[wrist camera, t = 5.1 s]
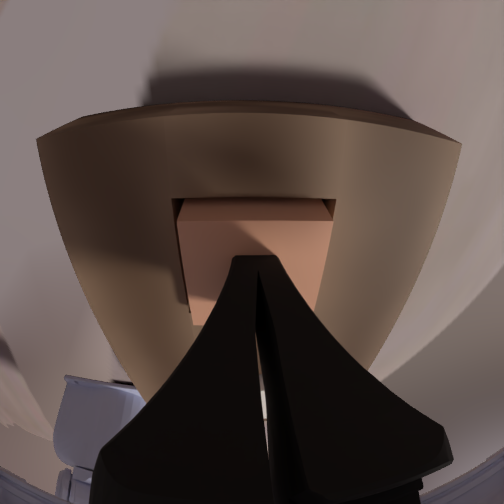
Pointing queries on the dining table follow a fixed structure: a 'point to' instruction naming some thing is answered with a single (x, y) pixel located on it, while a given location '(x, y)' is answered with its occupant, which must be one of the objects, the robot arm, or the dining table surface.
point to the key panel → (242, 185)
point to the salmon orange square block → (251, 242)
